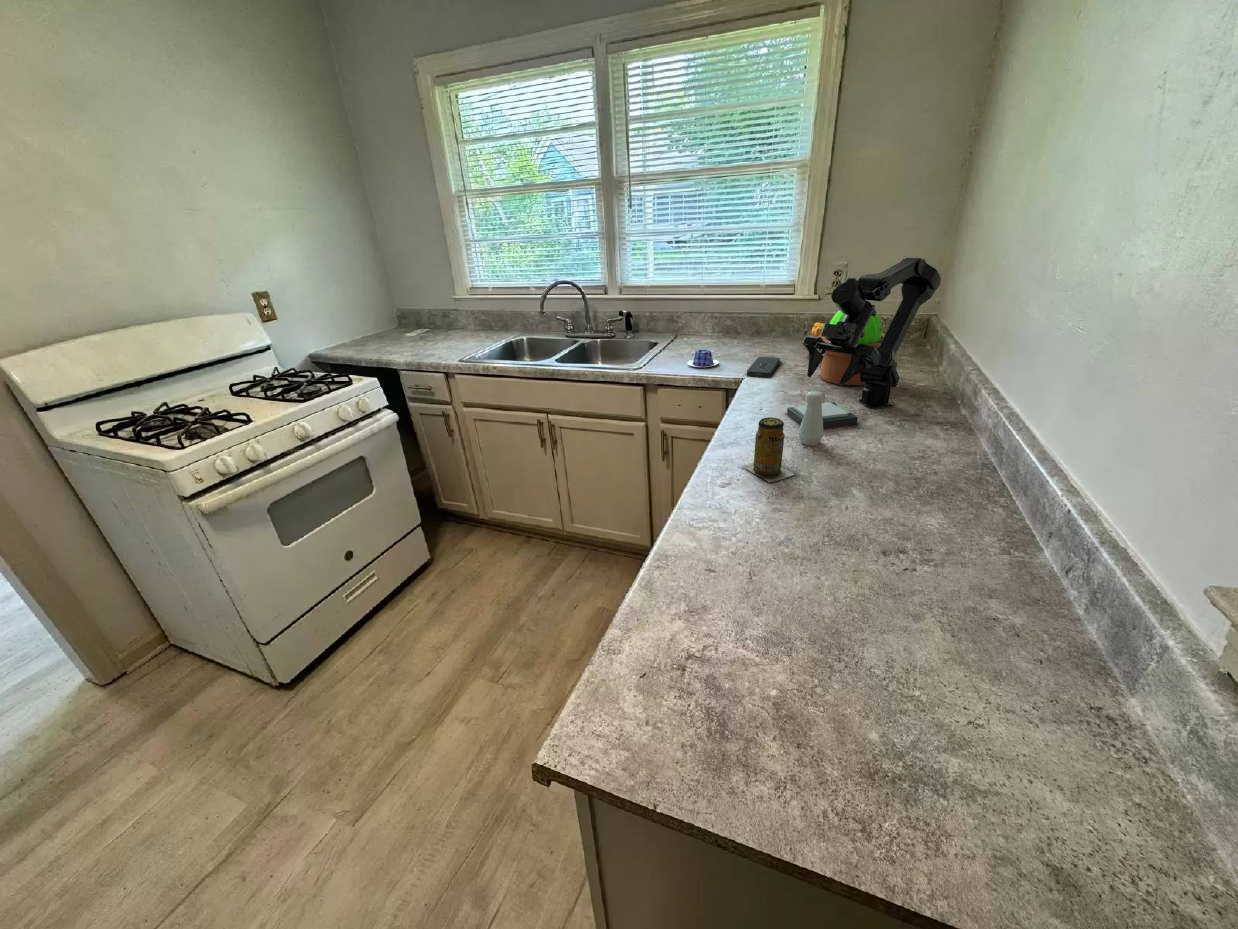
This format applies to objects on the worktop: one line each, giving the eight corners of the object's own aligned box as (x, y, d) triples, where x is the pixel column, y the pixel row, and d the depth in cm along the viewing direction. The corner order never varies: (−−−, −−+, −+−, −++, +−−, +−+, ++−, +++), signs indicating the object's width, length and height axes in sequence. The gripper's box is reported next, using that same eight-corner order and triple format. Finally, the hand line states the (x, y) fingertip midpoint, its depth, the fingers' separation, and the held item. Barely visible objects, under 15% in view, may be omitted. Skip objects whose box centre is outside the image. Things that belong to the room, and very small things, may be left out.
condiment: (768, 460, 116) (773, 413, 111) (795, 475, 109) (800, 425, 104) (744, 468, 113) (747, 420, 108) (769, 483, 107) (773, 432, 101)
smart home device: (746, 370, 174) (758, 356, 190) (745, 375, 175) (758, 360, 191) (770, 372, 171) (780, 357, 186) (769, 377, 171) (780, 361, 187)
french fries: (808, 354, 193) (812, 321, 187) (819, 355, 192) (824, 321, 186) (809, 361, 186) (813, 326, 180) (821, 361, 184) (825, 326, 178)
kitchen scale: (832, 408, 142) (834, 399, 141) (856, 424, 132) (858, 414, 130) (786, 414, 141) (787, 404, 140) (807, 430, 130) (808, 420, 129)
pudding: (723, 361, 192) (724, 348, 189) (711, 370, 183) (711, 356, 181) (695, 359, 198) (695, 346, 196) (682, 367, 189) (682, 353, 187)
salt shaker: (823, 447, 121) (830, 396, 115) (799, 446, 122) (804, 396, 116) (820, 437, 126) (826, 388, 120) (796, 437, 127) (801, 388, 121)
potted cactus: (811, 386, 161) (820, 306, 149) (814, 367, 178) (823, 295, 167) (886, 390, 153) (902, 307, 141) (882, 370, 171) (896, 294, 159)
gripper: (807, 304, 125) (778, 360, 126) (878, 312, 111) (845, 375, 112) (825, 324, 132) (798, 377, 133) (894, 335, 118) (863, 393, 119)
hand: (824, 380), depth 124 cm, fingers open, 9 cm apart
